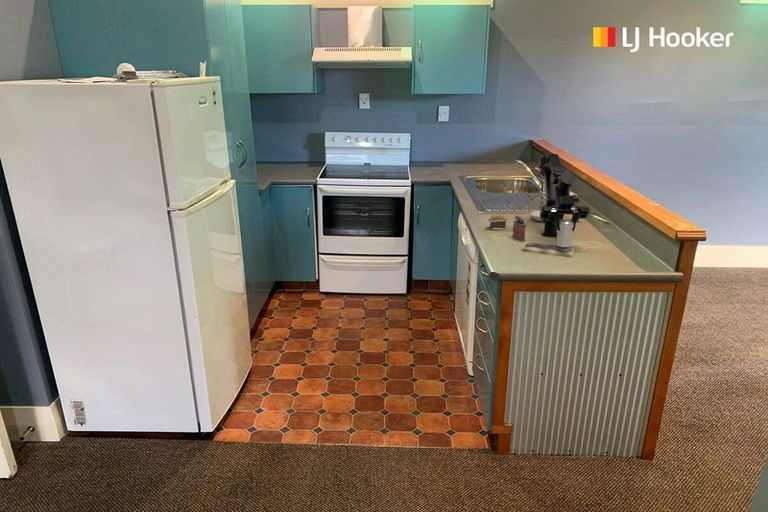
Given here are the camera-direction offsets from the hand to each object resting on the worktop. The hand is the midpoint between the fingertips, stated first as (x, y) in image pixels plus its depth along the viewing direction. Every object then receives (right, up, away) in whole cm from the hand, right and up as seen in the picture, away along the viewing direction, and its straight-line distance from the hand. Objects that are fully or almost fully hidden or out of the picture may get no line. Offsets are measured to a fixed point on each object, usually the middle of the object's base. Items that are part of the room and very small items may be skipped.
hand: (566, 230), depth 220 cm
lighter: (-14, -3, +22) cm, 26 cm away
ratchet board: (-5, -8, +7) cm, 12 cm away
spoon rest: (+11, +7, +49) cm, 50 cm away
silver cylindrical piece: (0, -6, +4) cm, 7 cm away
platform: (-20, +2, +36) cm, 42 cm away
